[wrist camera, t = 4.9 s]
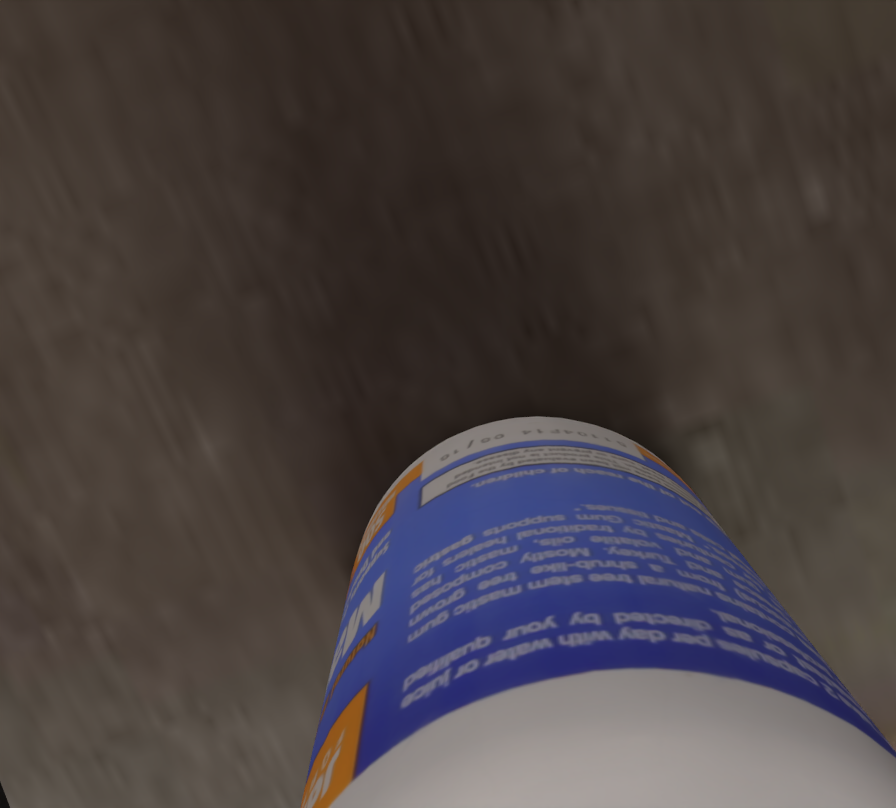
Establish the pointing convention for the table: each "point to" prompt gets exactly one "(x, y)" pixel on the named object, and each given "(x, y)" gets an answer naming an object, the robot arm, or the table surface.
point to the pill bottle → (574, 646)
